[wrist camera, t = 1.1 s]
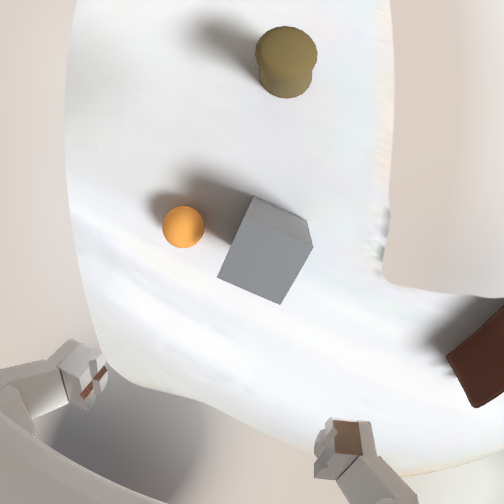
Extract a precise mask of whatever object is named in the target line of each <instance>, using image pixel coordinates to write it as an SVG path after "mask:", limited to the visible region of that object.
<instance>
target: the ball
mask: <svg viewBox="0 0 504 504" xmlns="http://www.w3.org/2000/svg"><path fill="white" fill-rule="evenodd" d="M162 229H163V234H164V236H165V238H166V240H167V241H168V242H169V243H170V244H172V245H173V246H175V247H178V248H188V247H191V246H193V245H195V244H196V243H197V242H198V241H199V240H200V239H201V237H202V235H203V232H204V222H203V219H202V217H201V215H200V214H199V212H198V211H196V210H195V209H193V208H191V207H188V206H179V207H176V208H174V209H172V210H170V211H169V212H168V213H167V215H166V216H165V218H164V221H163V226H162Z"/></svg>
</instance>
